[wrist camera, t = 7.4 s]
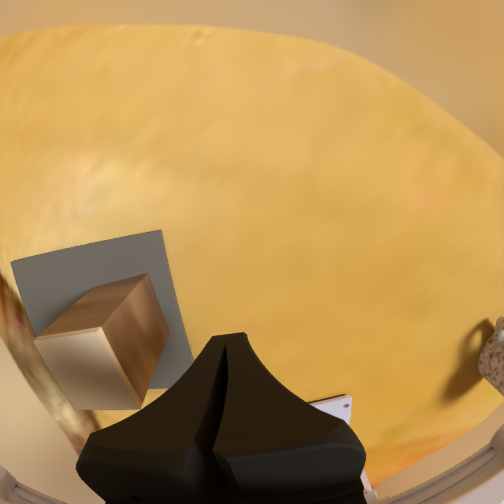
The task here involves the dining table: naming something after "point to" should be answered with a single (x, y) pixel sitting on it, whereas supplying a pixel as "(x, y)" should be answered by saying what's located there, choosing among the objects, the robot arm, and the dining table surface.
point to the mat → (98, 273)
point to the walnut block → (107, 345)
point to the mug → (493, 357)
